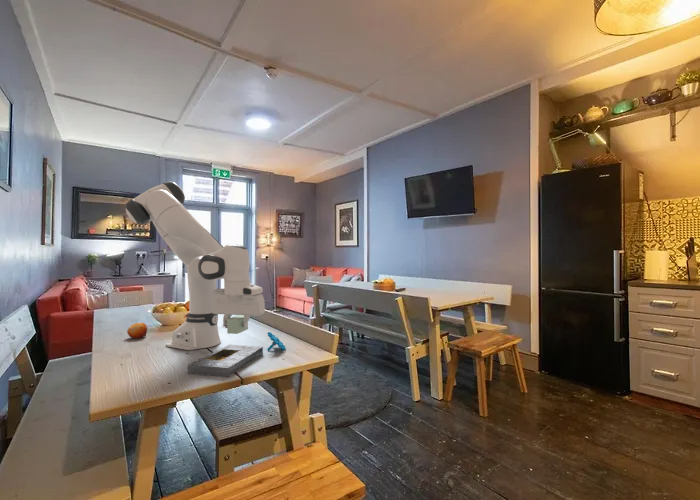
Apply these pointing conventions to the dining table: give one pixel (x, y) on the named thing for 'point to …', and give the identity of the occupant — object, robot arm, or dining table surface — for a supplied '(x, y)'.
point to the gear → (275, 341)
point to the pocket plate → (225, 360)
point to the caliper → (224, 320)
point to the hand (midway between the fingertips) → (237, 326)
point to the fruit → (137, 330)
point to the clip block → (235, 325)
